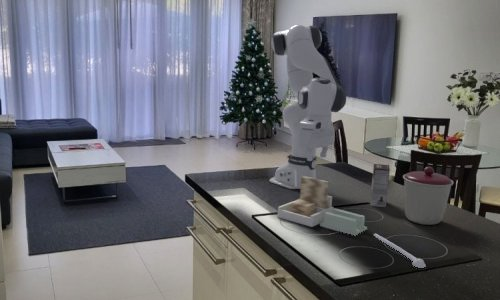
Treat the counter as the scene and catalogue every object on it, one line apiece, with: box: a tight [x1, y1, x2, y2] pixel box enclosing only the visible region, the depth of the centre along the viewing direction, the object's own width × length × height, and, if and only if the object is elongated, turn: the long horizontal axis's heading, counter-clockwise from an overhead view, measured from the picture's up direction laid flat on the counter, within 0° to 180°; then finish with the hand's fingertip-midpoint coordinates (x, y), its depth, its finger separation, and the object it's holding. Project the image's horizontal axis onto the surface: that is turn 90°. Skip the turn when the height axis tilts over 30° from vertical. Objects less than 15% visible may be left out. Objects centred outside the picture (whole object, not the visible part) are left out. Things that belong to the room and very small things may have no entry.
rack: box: [277, 195, 335, 228], centre depth 191 cm, size 15×15×8 cm
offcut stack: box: [292, 199, 315, 217], centre depth 190 cm, size 7×6×6 cm
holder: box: [319, 208, 368, 237], centre depth 182 cm, size 14×9×5 cm, turn 52°
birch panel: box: [299, 176, 330, 209], centre depth 194 cm, size 11×2×14 cm, turn 52°
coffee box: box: [370, 163, 391, 208], centre depth 212 cm, size 9×6×16 cm
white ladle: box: [373, 233, 427, 268], centre depth 163 cm, size 28×4×3 cm, turn 18°
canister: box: [402, 166, 455, 226], centre depth 192 cm, size 18×18×21 cm
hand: (316, 158), depth 191 cm, fingers open, 8 cm apart
